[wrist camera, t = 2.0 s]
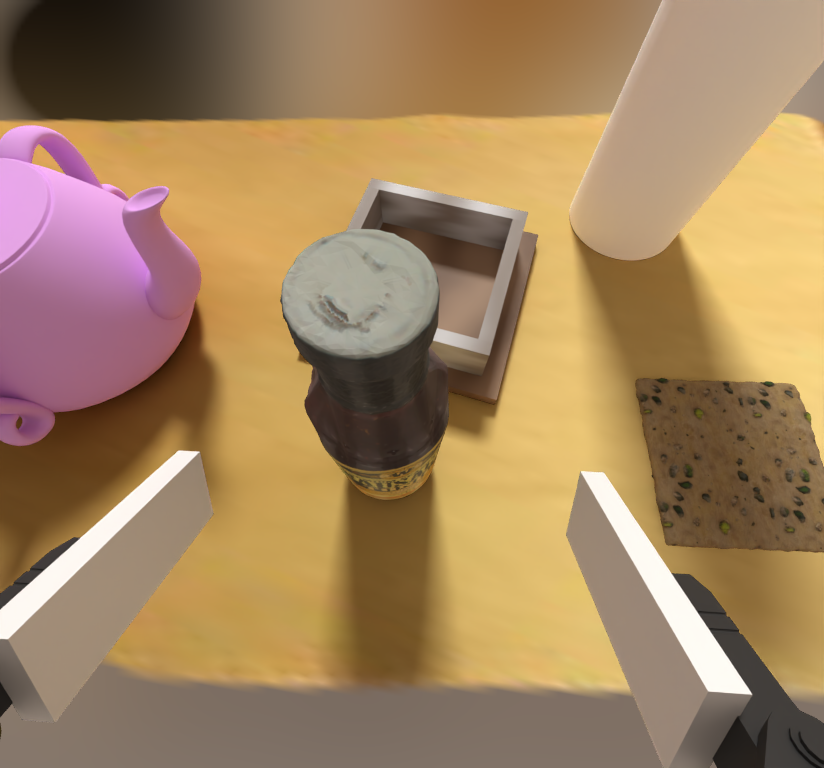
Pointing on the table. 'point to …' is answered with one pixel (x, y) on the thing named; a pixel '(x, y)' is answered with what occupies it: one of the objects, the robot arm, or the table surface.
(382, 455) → the sauce bottle
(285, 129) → the table surface
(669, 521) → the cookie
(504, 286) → the grey square tray
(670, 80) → the cylinder container
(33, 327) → the teapot
